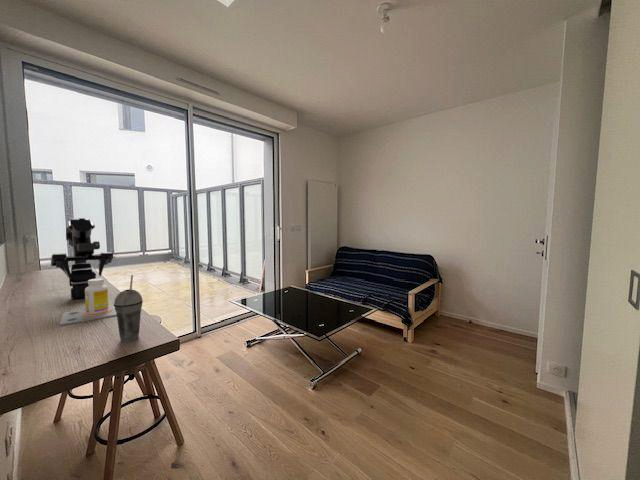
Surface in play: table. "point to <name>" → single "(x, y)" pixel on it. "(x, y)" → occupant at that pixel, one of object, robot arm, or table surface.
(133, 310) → the beverage cup
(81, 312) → the plate
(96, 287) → the supplement bottle
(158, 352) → the table surface
